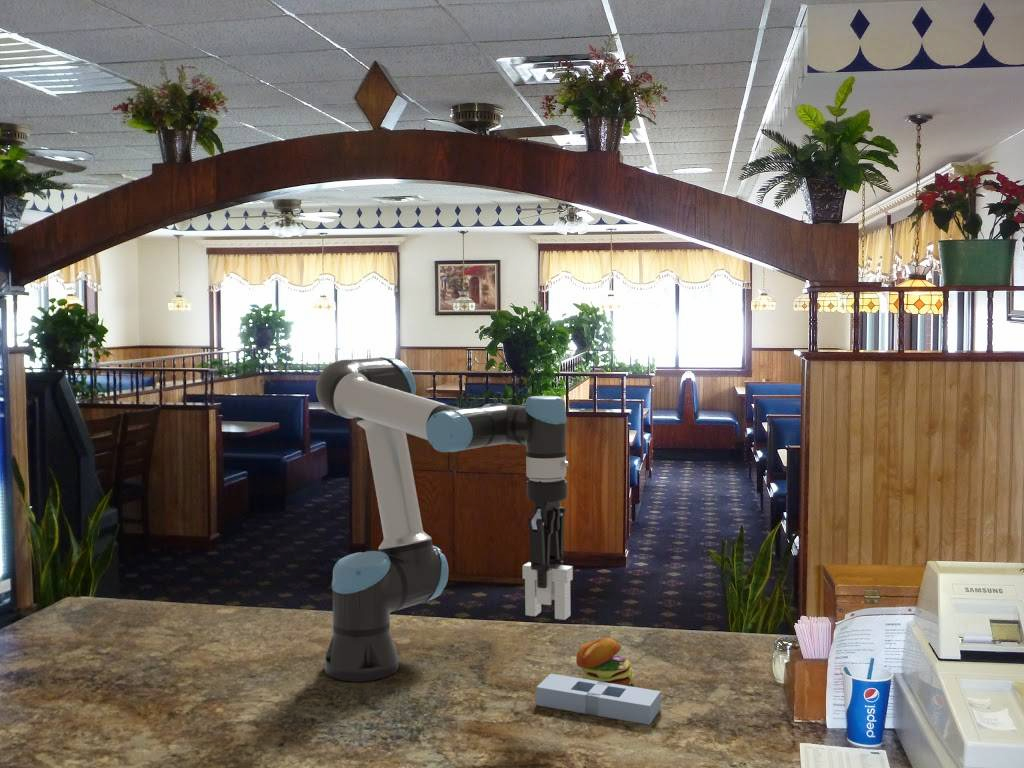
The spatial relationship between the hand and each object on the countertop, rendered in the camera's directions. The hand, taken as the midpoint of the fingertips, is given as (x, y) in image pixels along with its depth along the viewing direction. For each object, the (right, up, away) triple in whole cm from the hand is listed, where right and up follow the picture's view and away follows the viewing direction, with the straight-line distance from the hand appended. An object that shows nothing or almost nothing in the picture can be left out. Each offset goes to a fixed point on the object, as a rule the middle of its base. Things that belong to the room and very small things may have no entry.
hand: (547, 601), depth 191 cm
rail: (+9, -20, -1) cm, 22 cm away
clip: (0, -3, 0) cm, 3 cm away
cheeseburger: (+12, -19, +11) cm, 25 cm away
